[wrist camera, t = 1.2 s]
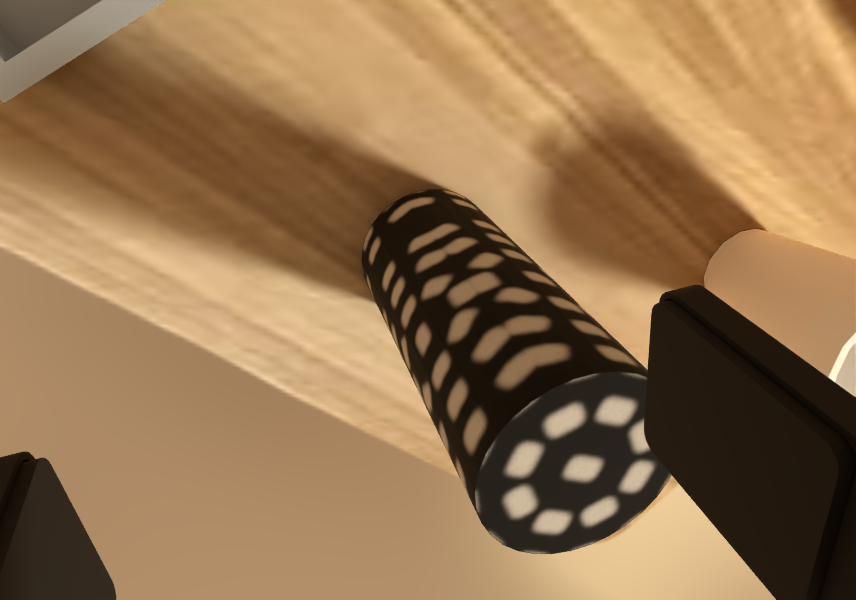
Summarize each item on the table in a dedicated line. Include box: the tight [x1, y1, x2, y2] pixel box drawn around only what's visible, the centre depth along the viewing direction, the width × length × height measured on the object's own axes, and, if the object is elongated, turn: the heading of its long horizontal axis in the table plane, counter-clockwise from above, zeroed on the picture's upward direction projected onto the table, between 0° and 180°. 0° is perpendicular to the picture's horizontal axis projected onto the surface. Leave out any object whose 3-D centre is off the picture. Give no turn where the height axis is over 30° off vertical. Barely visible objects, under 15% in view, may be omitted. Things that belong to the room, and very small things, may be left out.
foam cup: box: [704, 229, 856, 397], centre depth 44 cm, size 10×9×13 cm
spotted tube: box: [362, 190, 671, 554], centre depth 33 cm, size 8×8×20 cm
